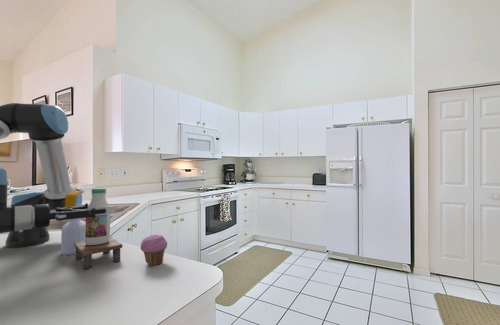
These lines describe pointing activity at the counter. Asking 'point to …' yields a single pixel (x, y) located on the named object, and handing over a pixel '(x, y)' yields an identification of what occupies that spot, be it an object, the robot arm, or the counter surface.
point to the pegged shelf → (96, 251)
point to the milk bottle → (97, 220)
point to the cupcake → (154, 249)
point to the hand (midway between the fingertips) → (111, 208)
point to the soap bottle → (72, 228)
